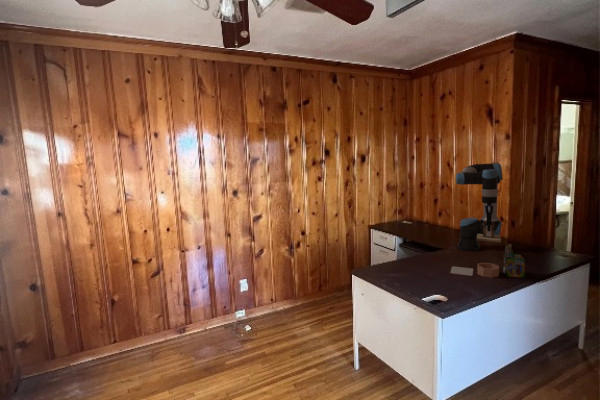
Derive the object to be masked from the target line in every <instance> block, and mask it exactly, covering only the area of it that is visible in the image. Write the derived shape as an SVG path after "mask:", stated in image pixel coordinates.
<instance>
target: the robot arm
mask: <svg viewBox="0 0 600 400" xmlns="http://www.w3.org/2000/svg"><path fill="white" fill-rule="evenodd" d="M502 169H503V168H502V165H501V164H500V163H494V162H493V163H476V164H471V165H467V166H466V167H464V168H463V169H462V171H461V172H457V173H456V175H455V184H457V185H460V186H463V185H467V186H468V185H482V186H481V190H480V192H481V202H482V204H483V210H482V211H483V213H482V215H483V216H482V217H480V220H479V218H477V217H467V218H463V219H461V220H460V223H459V227H460V228H459V231H460V233H459V241H458V242H457V249H459V250H461V251H464V252H465V251H466V252H476V251H480V249H481V247H480V242H479V241H477V234H483V221H487V223H486V224H485V225H486V236H490V237H491V229H492V224H491V221H494V222H495V223H494V235H500V236H501V230H502V221H501V220H500V218H499V217H498V195H499V193H498V189H499V188H498V187H499V186H498V185H499V184H500V183H501V181H503V179H504V178H503V170H502Z"/></svg>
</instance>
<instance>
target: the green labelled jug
mask: <svg viewBox="0 0 600 400" xmlns="http://www.w3.org/2000/svg"><path fill="white" fill-rule="evenodd" d="M502 259H503V262H502V263H503V267H502V268H503V269H502V271H503V274H504V276H506V278H522V279H525V278H526V275H525V273H526V266H525V265H526V263H525V262H526V261H525V259H526V258H525V257H524V256H523V255H522V254H515V253H514V251H513V249H512V250H511V254H505V253H503V258H502Z"/></svg>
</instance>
